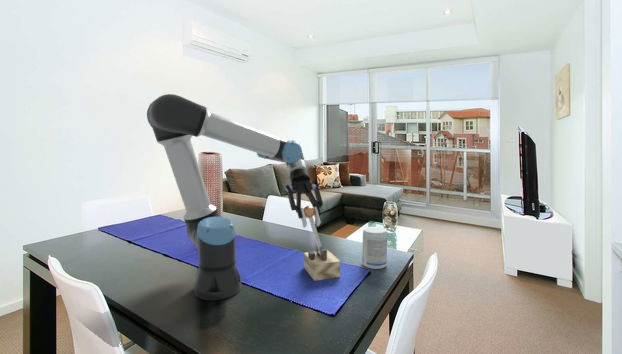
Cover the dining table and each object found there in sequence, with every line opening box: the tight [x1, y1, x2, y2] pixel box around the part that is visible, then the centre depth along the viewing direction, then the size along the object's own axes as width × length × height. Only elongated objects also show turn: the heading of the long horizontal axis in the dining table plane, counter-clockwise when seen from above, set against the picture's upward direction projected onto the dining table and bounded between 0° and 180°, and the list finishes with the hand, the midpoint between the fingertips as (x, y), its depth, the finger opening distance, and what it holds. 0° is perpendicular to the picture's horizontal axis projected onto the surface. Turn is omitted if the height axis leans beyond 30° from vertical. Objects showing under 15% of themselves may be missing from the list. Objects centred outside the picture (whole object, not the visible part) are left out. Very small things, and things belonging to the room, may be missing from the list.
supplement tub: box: [362, 226, 388, 270], centre depth 123 cm, size 10×10×15 cm
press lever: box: [303, 205, 324, 256], centre depth 114 cm, size 4×4×20 cm
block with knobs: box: [303, 246, 341, 282], centre depth 117 cm, size 10×12×10 cm
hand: (312, 224), depth 109 cm, fingers closed on press lever, 4 cm apart
